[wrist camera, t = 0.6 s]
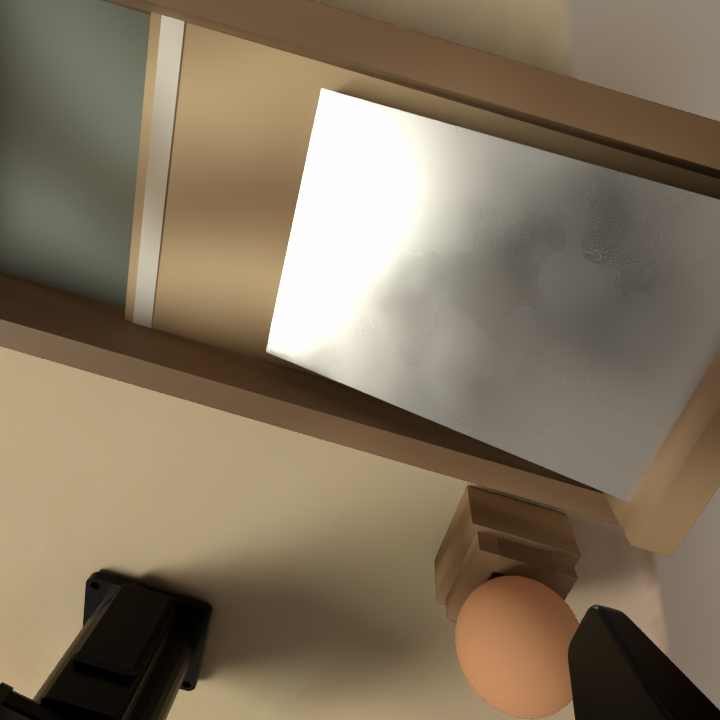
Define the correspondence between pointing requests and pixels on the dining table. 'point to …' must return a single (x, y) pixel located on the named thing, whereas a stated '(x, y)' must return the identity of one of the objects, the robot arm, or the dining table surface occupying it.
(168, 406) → the dining table surface
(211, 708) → the dining table surface
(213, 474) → the dining table surface
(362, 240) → the chute
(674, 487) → the lane
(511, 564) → the brown square frame
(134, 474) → the dining table surface
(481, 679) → the ball
